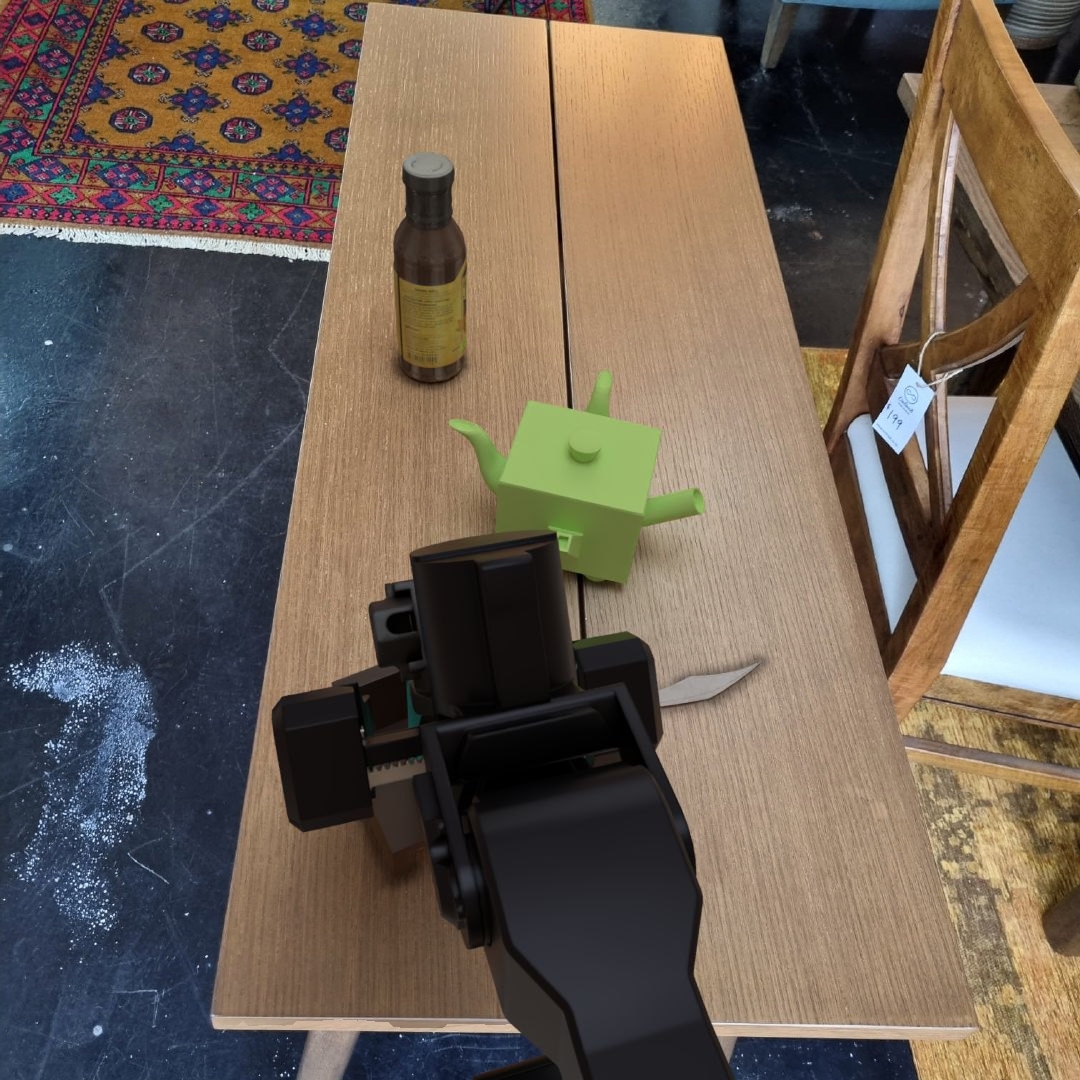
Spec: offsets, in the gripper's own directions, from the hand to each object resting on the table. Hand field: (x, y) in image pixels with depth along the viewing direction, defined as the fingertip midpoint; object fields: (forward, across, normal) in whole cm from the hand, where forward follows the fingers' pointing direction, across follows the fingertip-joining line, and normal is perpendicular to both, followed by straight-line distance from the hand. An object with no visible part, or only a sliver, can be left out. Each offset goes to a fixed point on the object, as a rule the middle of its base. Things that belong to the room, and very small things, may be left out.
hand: (447, 688), depth 57 cm
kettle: (+22, -14, -5) cm, 27 cm away
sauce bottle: (+38, -8, -21) cm, 44 cm away
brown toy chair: (+8, 0, +9) cm, 12 cm away
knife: (+11, -15, +6) cm, 20 cm away
